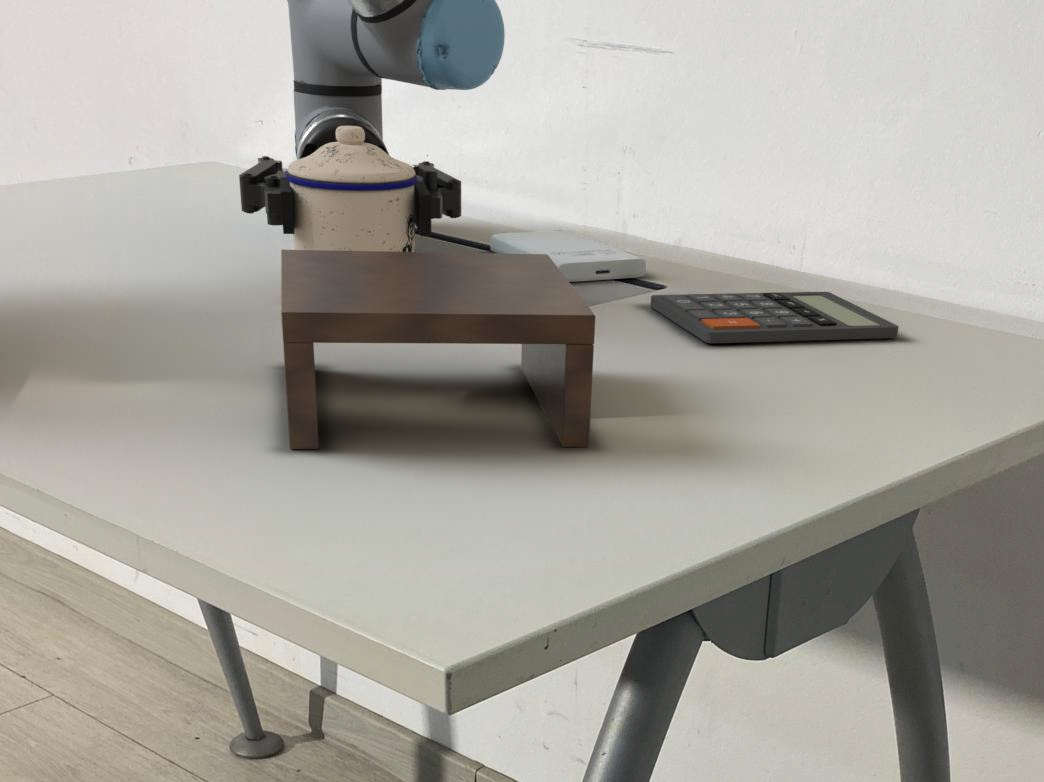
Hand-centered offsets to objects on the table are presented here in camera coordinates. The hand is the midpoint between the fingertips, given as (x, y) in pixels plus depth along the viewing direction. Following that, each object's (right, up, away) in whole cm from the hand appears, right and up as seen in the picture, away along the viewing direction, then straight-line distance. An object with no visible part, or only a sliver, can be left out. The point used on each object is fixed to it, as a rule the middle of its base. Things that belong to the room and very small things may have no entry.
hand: (357, 214), depth 99 cm
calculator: (+29, -5, +7) cm, 31 cm away
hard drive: (+14, +4, +21) cm, 26 cm away
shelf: (+7, -18, -16) cm, 24 cm away
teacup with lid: (-1, -3, +7) cm, 8 cm away
